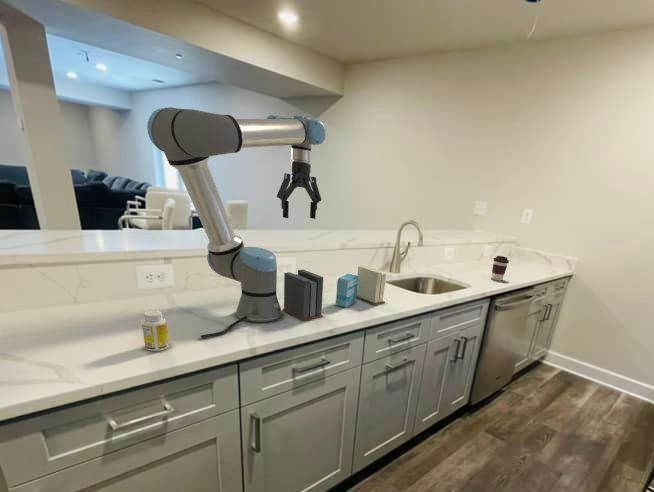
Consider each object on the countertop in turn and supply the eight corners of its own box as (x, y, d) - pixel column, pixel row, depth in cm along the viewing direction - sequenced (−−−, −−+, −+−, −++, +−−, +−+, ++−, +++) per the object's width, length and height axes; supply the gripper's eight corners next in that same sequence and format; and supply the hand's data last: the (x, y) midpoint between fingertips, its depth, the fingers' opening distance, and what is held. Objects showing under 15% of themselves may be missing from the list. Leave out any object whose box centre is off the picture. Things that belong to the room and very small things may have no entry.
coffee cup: (504, 282, 249) (509, 259, 243) (489, 279, 250) (494, 256, 244) (504, 279, 258) (509, 257, 252) (489, 276, 259) (494, 254, 253)
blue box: (345, 308, 158) (347, 280, 153) (335, 306, 159) (337, 278, 154) (356, 301, 169) (358, 274, 164) (346, 299, 170) (348, 272, 165)
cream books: (374, 305, 167) (377, 273, 161) (353, 297, 174) (356, 266, 169) (384, 303, 172) (388, 271, 167) (364, 295, 179) (367, 264, 174)
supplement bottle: (170, 343, 109) (166, 309, 106) (167, 351, 105) (163, 316, 101) (147, 344, 107) (142, 309, 103) (143, 352, 103) (138, 316, 99)
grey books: (304, 320, 139) (305, 279, 133) (283, 310, 146) (283, 270, 140) (322, 316, 145) (324, 277, 139) (301, 307, 153) (302, 269, 147)
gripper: (319, 165, 161) (317, 217, 169) (267, 156, 143) (267, 215, 151) (331, 166, 157) (328, 220, 165) (279, 158, 139) (278, 219, 147)
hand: (299, 218), depth 158 cm, fingers open, 13 cm apart
